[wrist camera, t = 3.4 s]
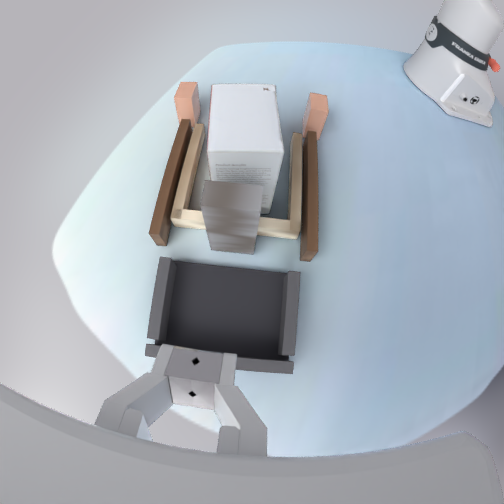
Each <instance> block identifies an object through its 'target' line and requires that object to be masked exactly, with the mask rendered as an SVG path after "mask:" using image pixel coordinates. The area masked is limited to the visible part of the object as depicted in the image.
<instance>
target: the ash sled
mask: <svg viewBox="0 0 504 504" xmlns="http://www.w3.org/2000/svg"><path fill="white" fill-rule="evenodd" d="M204 138H205V129H204V124H197V123H195V126H194V129H193V133H192V136H191V139H190V143H189V146H188V150H187V154H186V157H185V161H184V165H183V168H182V172H181V176H180V180H179V184H178V188H177V192H176V196H175V200H174V205H173V209H172V213H171V220H172V222H173V224H174V227H183V228H194V229H204V230H206V231H207V235H208V239H209V243H210V247H211V250H216V251H225V252H234V253H244V254H254V249H255V243H256V237H257V235H261V236H270V237H279V238H288V239H297V237H298V235H299V233H300V232H301V197H302V134H301V133H295V132H293V135H292V139H291V143H290V172H289V195H288V216H287V220H283V219H275V218H266V217H260V213H261V203H262V193H263V186H262V185H252V184H243V183H232V182H221V181H210V180H205V184H204V189H203V194H202V199H201V204H200V206H201V210H202V211H197V210H188V207H189V202H190V197H191V193H192V188H193V184H194V179H195V175H196V171H197V166H198V162H199V158H200V154H201V150H202V146H203V142H204Z"/></svg>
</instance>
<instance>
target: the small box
mask: <svg viewBox="0 0 504 504" xmlns="http://www.w3.org/2000/svg"><path fill="white" fill-rule="evenodd" d="M284 152H285V150H284V145H283V140H282V134H281V127H280V119H279V112H278V104H277V95H276V85H270V84H213V85H212V88H211V99H210V111H209V125H208V139H207V157H208V164H209V172H210V178H211V181H221V182H232V183H243V184H252V185H262V186H263V193H262V203H261V213H260V214H269V213H270V208H271V204H272V200H273V196H274V192H275V188H276V184H277V180H278V177H279V173H280V169H281V165H282V161H283V156H284Z"/></svg>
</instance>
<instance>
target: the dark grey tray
mask: <svg viewBox="0 0 504 504" xmlns="http://www.w3.org/2000/svg"><path fill="white" fill-rule="evenodd" d="M299 286H300V272H295V271H288V273H280V272H270V271H260V270H251V269H242V268H232V267H223V266H214V265H205V264H197V263H188V262H179V261H173V260H172V259H171V258H167V257H160V259H159V265H158V270H157V276H156V281H155V287H154V293H153V299H152V306H151V312H150V319H149V326H148V334H147V338H150V339H155V344H146V350H145V356H149V357H155V358H156V357H157V354H158V352H159V349H160V347H161V345H162V344H167V345H173V346H179V347H185V348H190V349H196V350H206V351H214V352H223V353H232V354H237V360H236V370H246V371H257V372H270V373H286V374H293V366H294V362H293V361H288V359H289V355H290V356H294V355H295V343H296V330H297V317H298V302H299Z"/></svg>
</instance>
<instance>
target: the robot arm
mask: <svg viewBox="0 0 504 504" xmlns="http://www.w3.org/2000/svg"><path fill="white" fill-rule="evenodd" d="M503 25H504V23H503V19H502V16H501V14H500V12H499V11H498V9H497V8H496V6H495V5H494V3H493V2H492V0H444V1H443V4H442V6H441V9H440V11H439V13H438V15H437V16H434V18H433V20H432V22H431V24H430V26H429V28H428V30H427V33H426V35H425V39H424V41H423V42H422V44H421V45H420V46H419V48H418V49H417V51H416V52H415V53H414V54H413V55H412V56H411V57H410V58H409V59H408V60H407V61H406V62H405V63H404V65H403V67H404V71H405V73H406V74H407V76H408V77H409V78H410V80H411V81H412V82H413V83H414V84H415V85H416V86H417V87H418V88H419V89H420V90H421V91H423V92H424V93H425V94H426V95H428V96H429V97H430V98H432V99H433V100H434V101H435V102H436V103H437V104H438V105H439V106H440V107H441V108H442V109H443V110H444V111H445V112H446V113H447V114H449V115H451V116H455V117H458V118H462V119H465V120H469V121H472V122H475V123H478V124H481V125H484V126H487V127H492V125H493V119H492V116H491V113H490V110H491V108H492V106H493V104H494V101H495V95H494V92H493V89H492V86H491V82H490V80H489V77H488V74H487V68H488V64H489V66H490V67H491V69H492V70H493V71H494V72H496V71H497V72H498V70H499V69H500V66H499V64H498V63H497V62H496V61H495V60H494V59H491V57H490V55H489V52H490V50H491V48H492V47H493V45H494V44H495V42H496V40H497V39H498V37H499V36H500V34H501V32H502V31H503V27H504V26H503ZM498 68H499V69H498ZM236 360H237V354H232V353H223V352H214V351H206V350H196V349H190V348H185V347H179V346H173V345H167V344H162V345H161V347H160V349H159V352H158V354H157V357H156V360H155V362H154V365H153V368H152V370H151V373H148V372H147V373H145V374H144V375H142V376H141V377H139V378H138V379H136V380H135V381H133V382H132V383H130V384H129V385H127V386H126V387H124V388H123V389H121V390H120V391H118V392H117V393H115V394H114V395H112V396H111V397H109V398H107V399H106V400H105V401H104V403H103V406H102V408H101V410H100V412H99V415H98V417H97V419H96V422H95V424H94V425H93V424H90V423H87V422H85V421H82V420H79V419H77V418H74V417H72V416H69V415H67V414H64V413H62V412H59V411H57V410H55V409H52V408H50V407H48V406H45V405H43V404H41V403H39V402H37V401H35V400H33V399H31V398H29V397H27V396H25V395H23V394H21V393H19V392H17V391H15V390H13V389H12V388H10V387H7V386H6V385H4V384H3V383H1V382H0V504H504V499H503V494H502V489H501V484H500V480H499V476H498V473H497V469H496V466H495V463H494V460H493V457H492V454H491V452H490V450H489V448H488V447H487V446H486V445H485V444H484V443H482V442H481V441H480V440H479V439H477V438H476V437H475V436H473V435H472V434H470V433H468V432H466V431H461V432H456V433H453V434H450V435H447V436H443V437H439V438H436V439H432V440H428V441H424V442H419V443H415V444H410V445H406V446H401V447H395V448H390V449H384V450H378V451H371V452H363V453H355V454H345V455H333V456H315V457H267V427H266V426H265V425H264V423H263V422H262V420H261V419H260V418H259V416H258V415H257V413H256V412H255V411H254V409H253V408H252V406H251V405H250V404H249V402H248V401H247V399H246V398H245V396H244V395H243V393H242V392H241V390H240V389H239V387H238V386H234V380H235V370H236ZM173 404H179V405H185V406H194V407H199V408H205V409H211V410H214V411H215V413H216V415H217V417H218V419H219V421H220V423H221V425H222V427H221V428H220V432H219V439H218V446H217V453H214V452H207V451H201V450H193V449H188V448H182V447H176V446H171V445H166V444H162V443H157V442H153V439H152V437H151V434H150V432H149V429H148V427H149V426H150V425H151V424H152V423H153V422H155V421H156V420H157V419H158V418H159V417H160V416H161V415H162V414H163V413H164V412H165V411H167V410H168V409H169V408H170V407H171V406H172V405H173Z"/></svg>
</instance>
